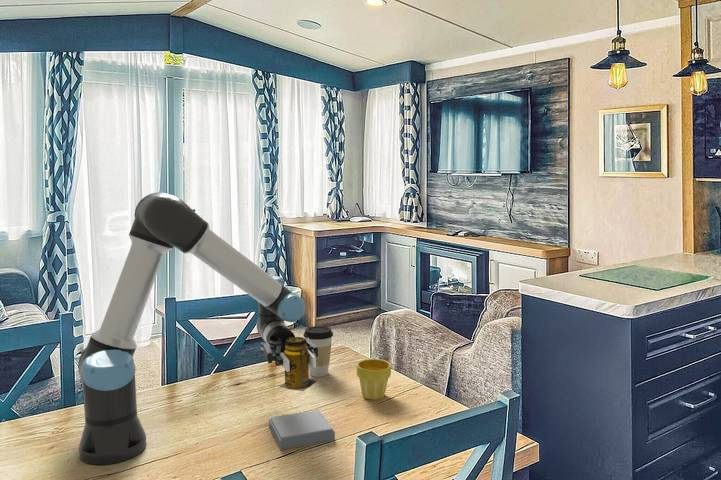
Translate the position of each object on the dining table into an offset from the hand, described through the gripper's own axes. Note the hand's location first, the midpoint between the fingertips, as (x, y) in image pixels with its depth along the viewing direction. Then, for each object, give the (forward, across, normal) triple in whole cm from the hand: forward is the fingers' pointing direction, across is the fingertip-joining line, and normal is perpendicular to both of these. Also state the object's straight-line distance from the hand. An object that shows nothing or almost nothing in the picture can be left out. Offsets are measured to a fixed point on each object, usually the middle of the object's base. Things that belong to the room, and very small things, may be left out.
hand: (301, 364), depth 143 cm
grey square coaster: (-5, -1, -20) cm, 21 cm away
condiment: (-5, -1, -7) cm, 9 cm away
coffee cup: (-45, -18, -21) cm, 53 cm away
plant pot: (-21, -28, -21) cm, 41 cm away
